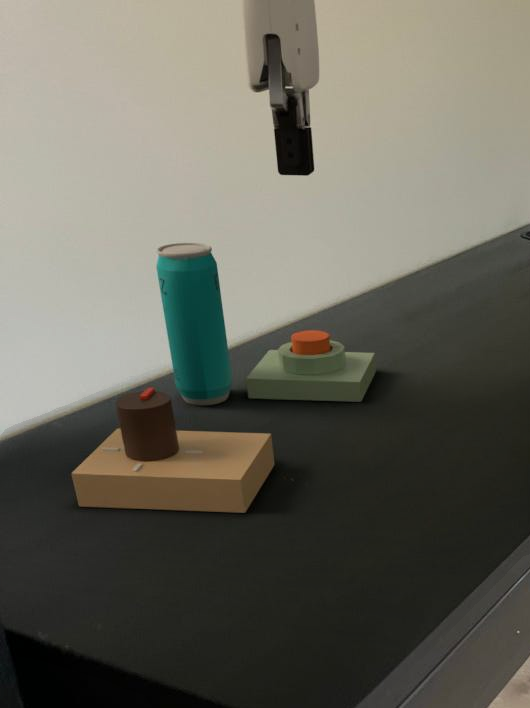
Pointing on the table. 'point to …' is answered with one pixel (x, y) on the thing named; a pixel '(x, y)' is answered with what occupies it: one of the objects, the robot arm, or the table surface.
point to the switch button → (310, 342)
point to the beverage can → (194, 322)
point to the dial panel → (178, 474)
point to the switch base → (312, 375)
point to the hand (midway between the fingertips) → (296, 173)
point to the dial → (147, 425)
